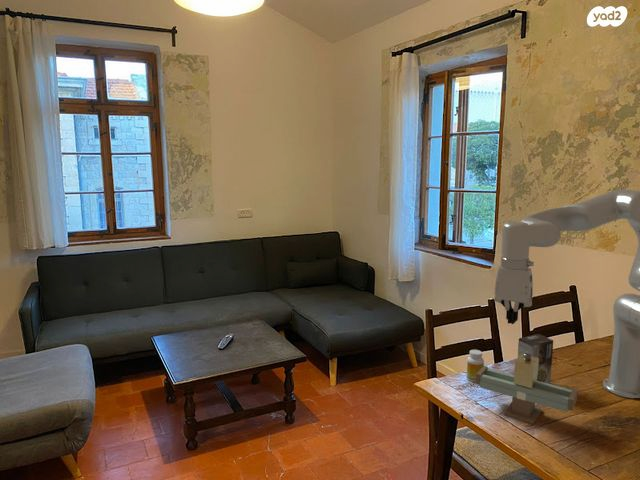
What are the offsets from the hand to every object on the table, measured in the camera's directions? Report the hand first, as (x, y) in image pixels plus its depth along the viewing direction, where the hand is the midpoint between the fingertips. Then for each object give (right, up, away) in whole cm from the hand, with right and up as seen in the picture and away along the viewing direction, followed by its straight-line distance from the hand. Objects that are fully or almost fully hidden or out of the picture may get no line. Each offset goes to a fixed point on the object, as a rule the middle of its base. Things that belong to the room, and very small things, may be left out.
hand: (511, 322), depth 146 cm
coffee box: (+12, -23, +14) cm, 30 cm away
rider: (+2, -18, -5) cm, 19 cm away
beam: (+2, -26, -3) cm, 27 cm away
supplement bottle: (-5, -23, +18) cm, 30 cm away
